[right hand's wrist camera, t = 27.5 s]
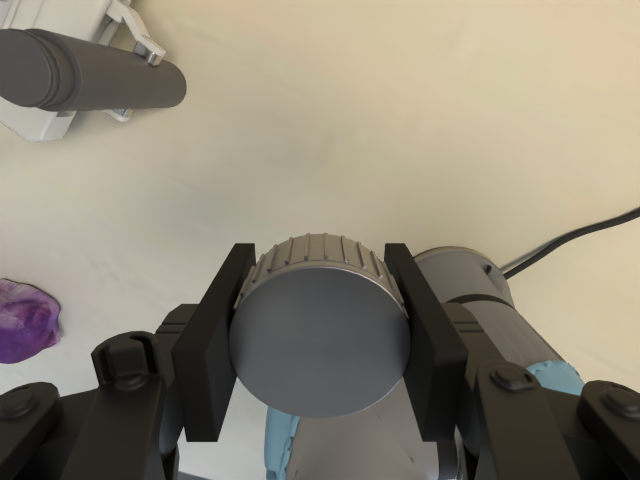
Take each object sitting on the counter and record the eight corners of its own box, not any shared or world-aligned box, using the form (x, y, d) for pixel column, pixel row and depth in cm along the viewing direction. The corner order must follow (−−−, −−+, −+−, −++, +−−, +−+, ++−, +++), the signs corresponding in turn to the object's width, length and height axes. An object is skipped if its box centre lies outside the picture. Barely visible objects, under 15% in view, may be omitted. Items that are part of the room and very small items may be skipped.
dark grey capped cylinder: (158, 114, 39) (10, 126, 20) (134, 72, 38) (-49, 44, 19) (194, 96, 39) (75, 91, 20) (171, 53, 37) (19, 3, 18)
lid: (420, 255, 12) (444, 291, 9) (368, 380, 13) (378, 436, 11) (261, 212, 11) (246, 240, 9) (228, 348, 13) (210, 400, 11)
